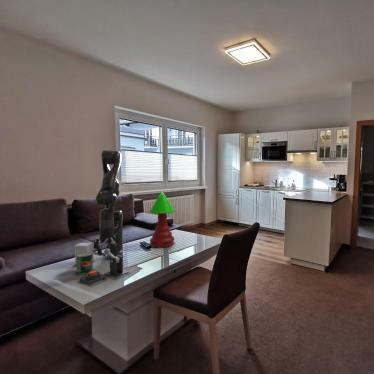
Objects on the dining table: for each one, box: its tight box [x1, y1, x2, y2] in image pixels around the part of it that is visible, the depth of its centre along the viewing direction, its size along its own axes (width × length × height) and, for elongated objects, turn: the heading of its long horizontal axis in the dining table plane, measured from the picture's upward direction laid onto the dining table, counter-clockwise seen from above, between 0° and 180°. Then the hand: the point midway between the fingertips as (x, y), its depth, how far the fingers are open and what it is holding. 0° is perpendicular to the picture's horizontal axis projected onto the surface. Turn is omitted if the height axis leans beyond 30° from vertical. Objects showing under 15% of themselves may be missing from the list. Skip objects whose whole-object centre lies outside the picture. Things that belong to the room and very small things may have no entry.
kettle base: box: [104, 255, 129, 279], centre depth 136 cm, size 10×8×11 cm
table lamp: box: [149, 191, 176, 249], centre depth 195 cm, size 20×20×45 cm
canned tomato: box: [76, 252, 94, 275], centre depth 139 cm, size 8×8×11 cm
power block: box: [79, 270, 107, 285], centre depth 128 cm, size 10×8×4 cm
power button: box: [88, 269, 97, 276], centre depth 128 cm, size 4×4×2 cm
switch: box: [103, 248, 120, 263], centre depth 138 cm, size 12×3×3 cm, turn 65°
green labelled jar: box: [74, 242, 95, 266], centre depth 152 cm, size 8×6×13 cm
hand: (107, 253), depth 139 cm, fingers open, 8 cm apart
